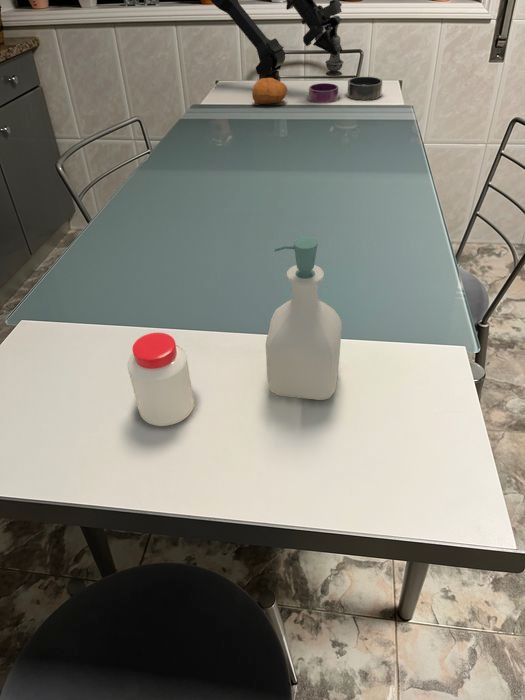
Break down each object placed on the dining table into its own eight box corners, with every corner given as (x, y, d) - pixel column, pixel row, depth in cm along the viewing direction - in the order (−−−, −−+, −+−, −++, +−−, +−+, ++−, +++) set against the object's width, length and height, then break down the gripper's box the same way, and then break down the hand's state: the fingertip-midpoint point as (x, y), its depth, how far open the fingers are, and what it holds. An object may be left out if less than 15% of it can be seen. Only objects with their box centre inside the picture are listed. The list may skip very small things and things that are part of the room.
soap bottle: (276, 356, 85) (273, 220, 70) (339, 362, 83) (349, 224, 69) (265, 400, 78) (258, 259, 63) (333, 407, 76) (342, 264, 62)
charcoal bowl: (342, 98, 184) (343, 84, 181) (352, 89, 192) (353, 75, 189) (375, 101, 180) (377, 87, 177) (384, 92, 188) (386, 77, 185)
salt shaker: (324, 71, 183) (326, 30, 175) (342, 71, 182) (345, 30, 175) (324, 76, 178) (326, 34, 171) (343, 76, 178) (345, 34, 170)
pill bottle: (198, 387, 80) (189, 327, 73) (188, 427, 74) (176, 366, 67) (146, 385, 81) (132, 326, 74) (132, 424, 75) (115, 364, 68)
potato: (256, 98, 188) (255, 74, 183) (289, 99, 186) (289, 75, 181) (250, 107, 181) (249, 82, 176) (284, 107, 179) (284, 83, 174)
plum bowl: (304, 101, 183) (304, 90, 181) (314, 93, 190) (314, 82, 188) (332, 103, 180) (332, 92, 178) (341, 95, 187) (342, 84, 185)
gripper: (313, -6, 161) (346, 40, 164) (338, -15, 173) (367, 28, 176) (289, 23, 169) (320, 67, 172) (313, 12, 181) (342, 53, 184)
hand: (339, 53), depth 176 cm, fingers closed on salt shaker, 3 cm apart
